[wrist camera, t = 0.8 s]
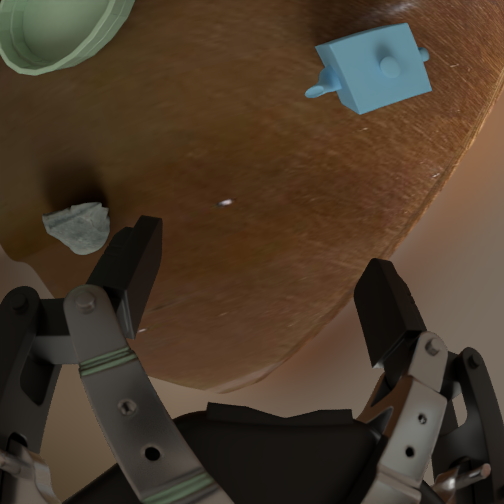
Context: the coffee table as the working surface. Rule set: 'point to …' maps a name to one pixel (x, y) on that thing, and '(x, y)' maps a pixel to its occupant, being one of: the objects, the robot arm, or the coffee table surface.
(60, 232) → the stone
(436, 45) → the coffee table surface
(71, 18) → the serving bowl
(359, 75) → the teapot
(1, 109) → the coffee table surface
